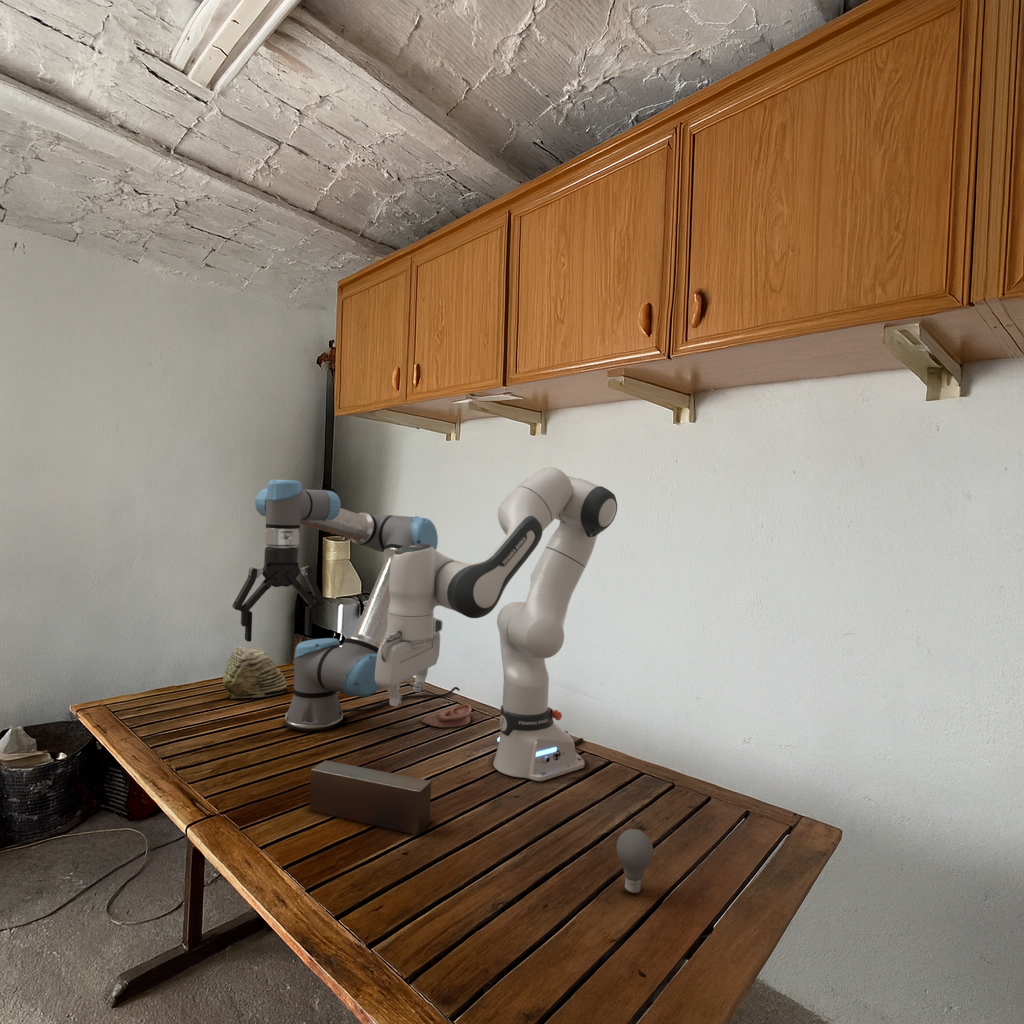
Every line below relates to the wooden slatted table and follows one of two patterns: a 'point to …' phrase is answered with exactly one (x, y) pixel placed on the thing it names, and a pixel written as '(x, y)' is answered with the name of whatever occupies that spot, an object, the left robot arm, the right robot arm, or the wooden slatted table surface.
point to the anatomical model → (450, 717)
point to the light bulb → (634, 857)
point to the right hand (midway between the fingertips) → (407, 698)
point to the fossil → (252, 674)
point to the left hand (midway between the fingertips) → (278, 637)
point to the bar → (371, 796)
